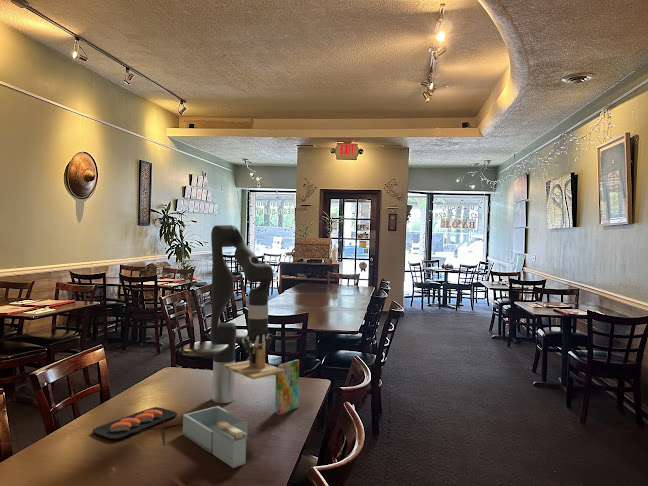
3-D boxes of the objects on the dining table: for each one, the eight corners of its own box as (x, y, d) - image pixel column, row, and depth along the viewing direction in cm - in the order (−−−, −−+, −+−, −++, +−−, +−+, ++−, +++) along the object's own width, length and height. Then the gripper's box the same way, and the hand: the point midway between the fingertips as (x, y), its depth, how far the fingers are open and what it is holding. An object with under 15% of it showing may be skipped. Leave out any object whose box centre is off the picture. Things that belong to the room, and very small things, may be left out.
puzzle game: (281, 416, 186) (282, 365, 186) (272, 413, 189) (273, 363, 189) (299, 408, 196) (300, 360, 196) (291, 405, 199) (292, 358, 199)
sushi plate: (155, 410, 191) (155, 401, 191) (210, 426, 176) (210, 416, 176) (88, 435, 166) (88, 424, 166) (145, 456, 151) (145, 444, 151)
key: (216, 428, 153) (216, 421, 153) (222, 426, 154) (222, 420, 154) (235, 439, 144) (236, 433, 144) (242, 437, 146) (242, 431, 146)
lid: (224, 367, 178) (224, 346, 178) (254, 361, 187) (254, 341, 187) (253, 379, 163) (253, 356, 163) (284, 372, 173) (284, 350, 173)
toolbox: (182, 434, 167) (182, 408, 167) (217, 424, 177) (218, 400, 177) (232, 468, 143) (232, 438, 143) (269, 454, 152) (270, 426, 152)
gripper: (247, 319, 169) (246, 367, 169) (279, 316, 178) (278, 361, 178) (236, 317, 174) (235, 363, 174) (267, 313, 184) (266, 357, 184)
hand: (257, 362), depth 176 cm, fingers closed on lid, 3 cm apart
